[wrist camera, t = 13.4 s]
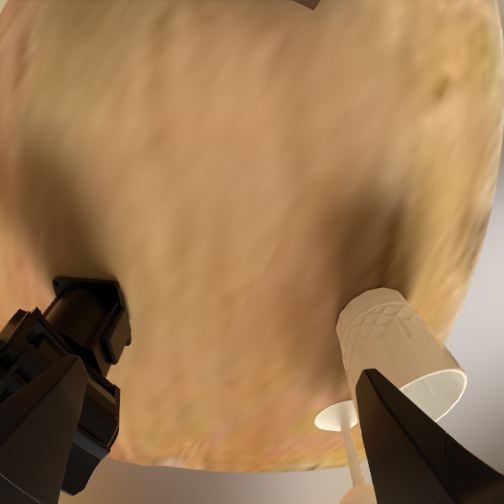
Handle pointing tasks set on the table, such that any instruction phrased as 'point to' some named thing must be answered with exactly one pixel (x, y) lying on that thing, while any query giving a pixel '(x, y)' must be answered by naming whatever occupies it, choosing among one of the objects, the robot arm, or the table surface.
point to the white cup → (398, 351)
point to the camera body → (308, 3)
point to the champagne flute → (347, 449)
